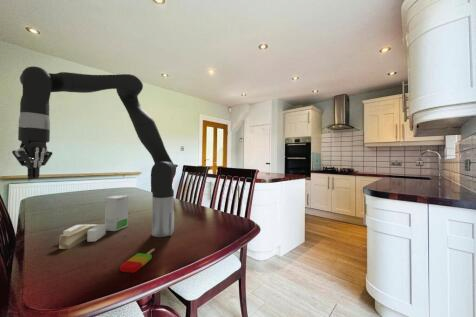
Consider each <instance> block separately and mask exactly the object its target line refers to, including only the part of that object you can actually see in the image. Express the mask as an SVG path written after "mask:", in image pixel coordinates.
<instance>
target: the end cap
mask: <svg viewBox="0 0 476 317" xmlns="http://www.w3.org/2000/svg"><path fill="white" fill-rule="evenodd" d="M83 225H85V226H92V228H91V229H90V230H88V231H87V239H86V240H87V242H96V241H98V240H100V239H101V238H103V237H104V236H105V235H106V232H107V230H106V224H105V223H101V224H94V223H93V224H91V223H90V224H75V225H73V226H72V227H69V228H67V229H65V230H63V231H62V232H63V234H65V233H67V232H70V231H72V230H74V229H76V228H79V227H81V226H83ZM63 234H62V235H63Z"/></svg>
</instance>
